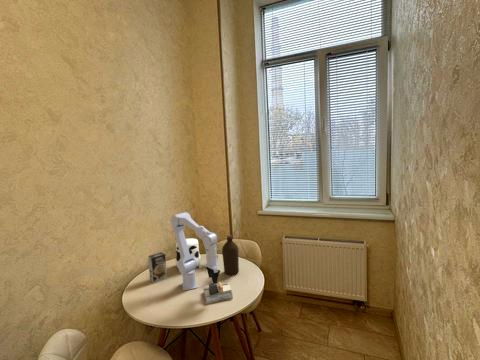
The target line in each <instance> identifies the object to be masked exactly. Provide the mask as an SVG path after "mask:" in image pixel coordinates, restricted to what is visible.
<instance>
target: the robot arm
mask: <svg viewBox="0 0 480 360" xmlns="http://www.w3.org/2000/svg"><path fill="white" fill-rule="evenodd" d="M170 224H171V228H172V230H173V232H174V236H175V240H176V242H177V245H178V248H179V252H180V255H181V258H180V260H179V261H178V264H179V268H178V272H179V273H180V274H181V276H182V283H181V286H182V291H188V290H194V289H197V288H198V286H197V282H196V273H195V271H196V269H197V268H198V267H197V262H196V260H195V259H194V256H192V255H190V253H189V249H188V246H187V242H186V239H187V238H186V236H185V232H184V227H186V226H187V227H188V228H190V229H191V230H193V231H194V234H195V235H196V236H197V237H198V238H199V239H201V240H202V244H203V246H204V248H205V252H206V253H205V258H206V263H205V264H204V267H205V269H206V271H207V275H208V278H211V282H213V284H215V283H216V284H217V283H218V282H219V281H218V280H219V275H220V273H221V270H220V269H219V268H218V264H219V263H218V261H217V255H218V254H217V253H218V251H217V249H216V248H217V246H216V243H217V242H218V243H219V236H218V234H216V232H212V231H209V230H208V229H207V228H205V226H204V225H199V224H198V223H197V222H196V221H194V220H193V218H192V217H191V214H190V213H189V212H188V211H183V212H180V213H177V214H173V215H172V216H171V217H170ZM218 243H217V244H218ZM187 260H188V261H187ZM185 261H186V262H185Z"/></svg>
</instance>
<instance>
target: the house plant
mask: <svg viewBox="0 0 480 360" xmlns="http://www.w3.org/2000/svg"><path fill="white" fill-rule="evenodd" d="M218 243H219V241H218V242H217V243H216V251H217V262H218V260H219V255H218V254H219V252H221V249H220V248H221V247H222V248H223V246H221V245H222V243H220V244H218ZM204 254H206V251H205V252H204Z"/></svg>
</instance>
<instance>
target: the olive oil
mask: <svg viewBox="0 0 480 360" xmlns="http://www.w3.org/2000/svg"><path fill="white" fill-rule="evenodd" d="M221 252H222V262H223V263H222V264H223V272H224V275H225V274H226V275H225V276H228V275H229V277H231V276H232V275H234V276H236V274H237V273H238V272H240V271H239V270H240V268H239V264H240V263H239V247H238V245H237V244H236V243H235V242H234V241H233V236H232V234H227V235H226V242H225V243H224V244H223V246H222V248H221ZM238 274H239V273H238ZM238 274H237V275H238ZM232 277H233V276H232Z"/></svg>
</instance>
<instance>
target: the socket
mask: <svg viewBox="0 0 480 360" xmlns="http://www.w3.org/2000/svg"><path fill="white" fill-rule="evenodd" d="M221 284H222V286H224V285H229V283H221ZM202 290H203V296H204V298H205V303H206V305H208V304H213V303H217V302H221V301H227V300H233V297H234V296H233V291H227V292H222V293H221V292H220V289H219V284H218V285H217V294H212V295H210V293H209V286H208V287H203V288H202Z"/></svg>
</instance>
